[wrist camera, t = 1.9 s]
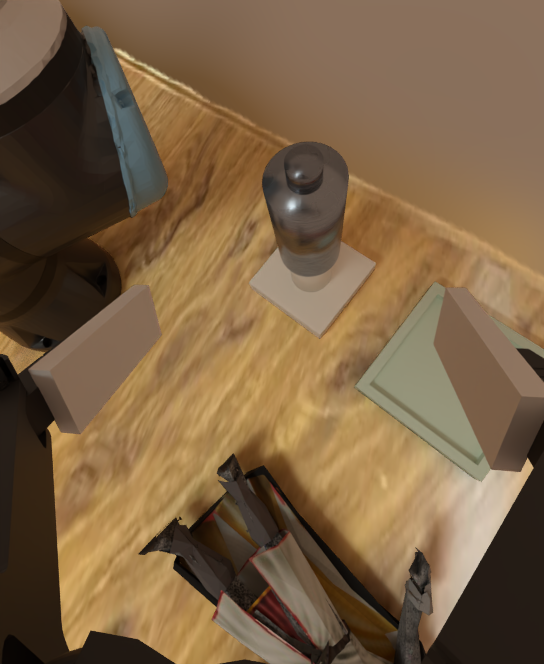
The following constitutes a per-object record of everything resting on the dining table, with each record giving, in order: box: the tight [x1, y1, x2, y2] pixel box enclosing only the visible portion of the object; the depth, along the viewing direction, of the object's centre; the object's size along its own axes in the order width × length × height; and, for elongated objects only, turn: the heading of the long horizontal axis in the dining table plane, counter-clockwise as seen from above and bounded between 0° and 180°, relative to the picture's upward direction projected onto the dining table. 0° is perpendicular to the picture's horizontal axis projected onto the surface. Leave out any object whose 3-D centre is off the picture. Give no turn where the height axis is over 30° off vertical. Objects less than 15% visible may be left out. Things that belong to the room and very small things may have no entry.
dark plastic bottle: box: [262, 142, 349, 277], centre depth 26 cm, size 6×6×12 cm
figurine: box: [139, 453, 433, 664], centre depth 29 cm, size 23×8×30 cm
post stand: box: [249, 241, 376, 339], centre depth 36 cm, size 10×10×8 cm
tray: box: [354, 282, 544, 482], centre depth 34 cm, size 14×14×2 cm
